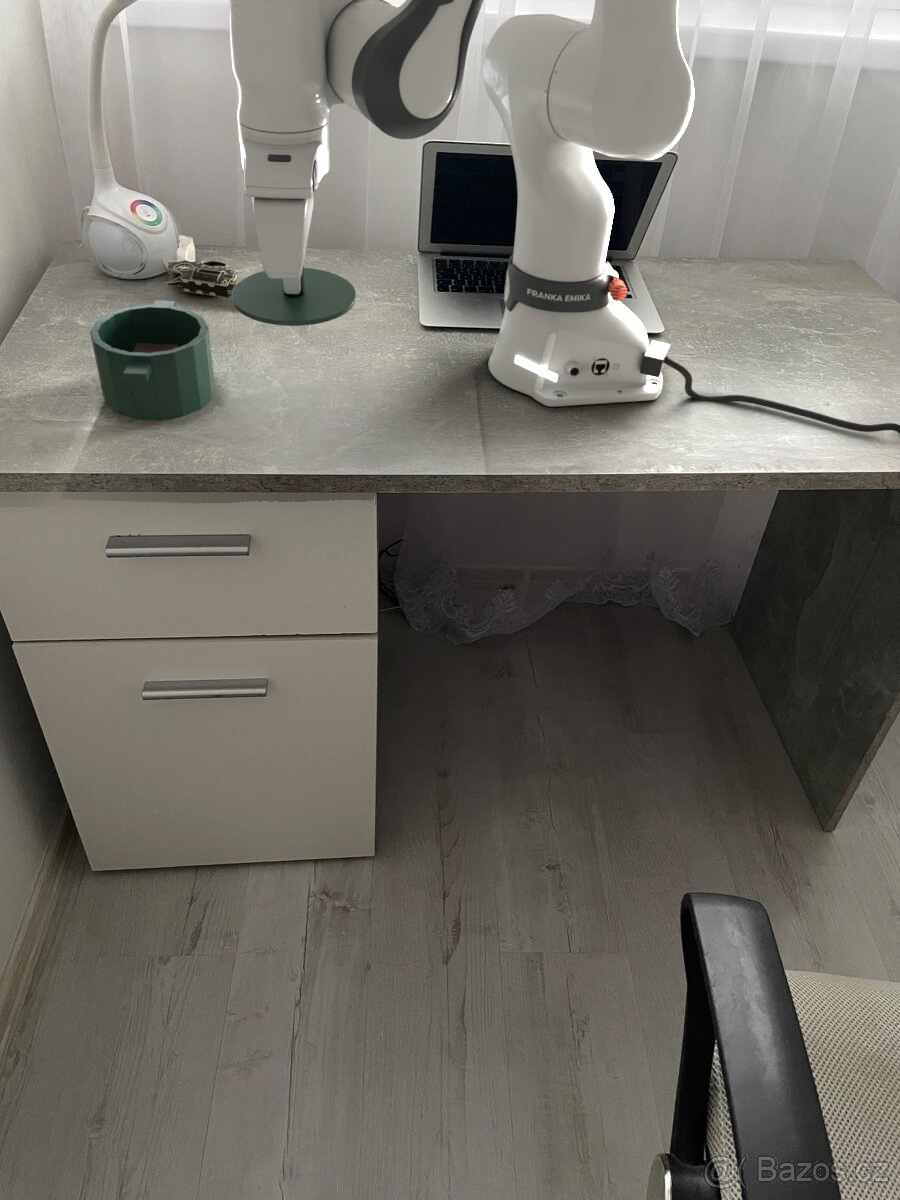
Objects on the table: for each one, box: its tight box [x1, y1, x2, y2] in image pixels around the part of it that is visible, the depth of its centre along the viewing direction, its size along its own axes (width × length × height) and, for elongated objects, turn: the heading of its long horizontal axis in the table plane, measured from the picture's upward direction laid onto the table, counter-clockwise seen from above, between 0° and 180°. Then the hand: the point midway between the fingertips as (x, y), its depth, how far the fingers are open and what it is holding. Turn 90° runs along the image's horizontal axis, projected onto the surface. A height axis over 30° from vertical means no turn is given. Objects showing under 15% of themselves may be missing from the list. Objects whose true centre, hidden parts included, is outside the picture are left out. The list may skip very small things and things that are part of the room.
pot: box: [89, 299, 216, 421], centre depth 109 cm, size 13×18×8 cm
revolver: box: [164, 234, 239, 299], centre depth 135 cm, size 4×21×12 cm
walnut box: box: [133, 343, 178, 353], centre depth 110 cm, size 5×5×5 cm
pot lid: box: [231, 263, 357, 327], centre depth 103 cm, size 14×14×6 cm
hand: (294, 283), depth 104 cm, fingers closed on pot lid, 2 cm apart
